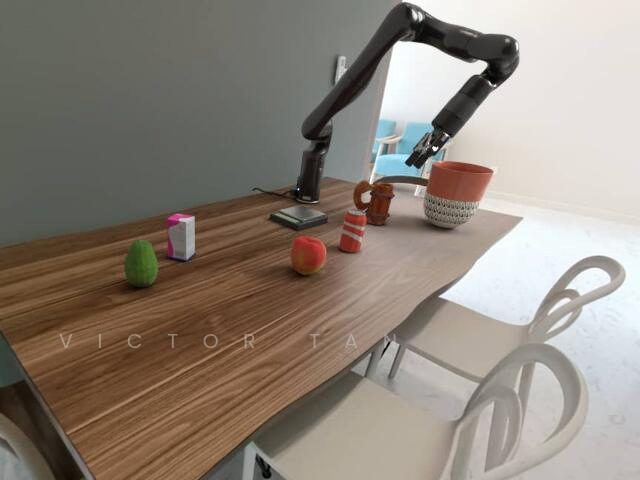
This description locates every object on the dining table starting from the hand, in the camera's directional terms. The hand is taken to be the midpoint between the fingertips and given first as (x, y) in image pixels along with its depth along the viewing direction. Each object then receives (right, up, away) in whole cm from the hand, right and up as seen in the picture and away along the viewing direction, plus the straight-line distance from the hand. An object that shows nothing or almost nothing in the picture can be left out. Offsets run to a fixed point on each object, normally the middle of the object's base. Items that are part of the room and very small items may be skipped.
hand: (411, 166), depth 114 cm
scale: (-29, -10, +29) cm, 42 cm away
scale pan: (-27, -8, +29) cm, 40 cm away
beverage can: (-16, -23, +8) cm, 29 cm away
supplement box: (-66, -27, -3) cm, 72 cm away
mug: (-2, -10, +32) cm, 34 cm away
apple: (-32, -32, -7) cm, 46 cm away
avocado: (-74, -35, -18) cm, 84 cm away
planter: (+26, -11, +33) cm, 44 cm away
